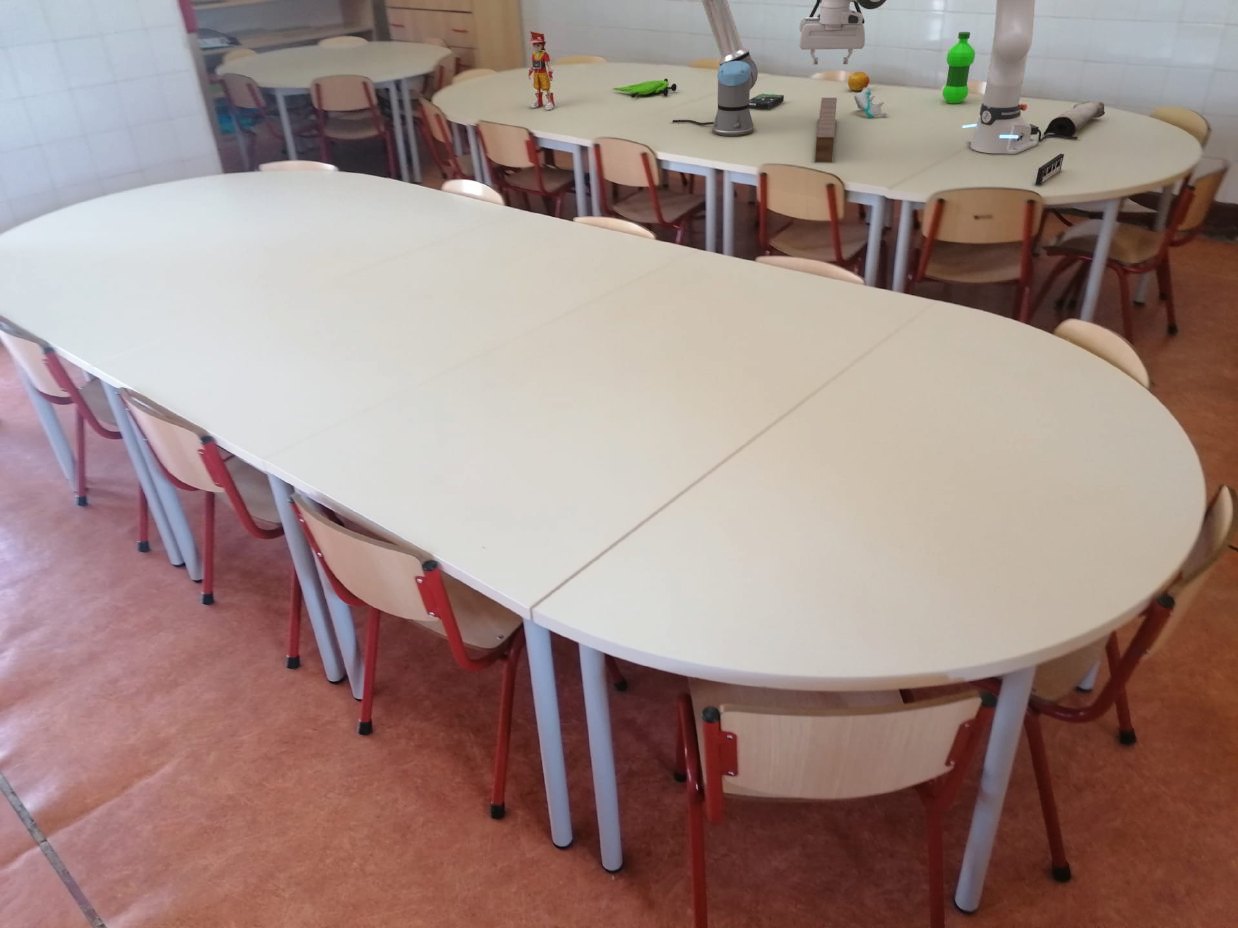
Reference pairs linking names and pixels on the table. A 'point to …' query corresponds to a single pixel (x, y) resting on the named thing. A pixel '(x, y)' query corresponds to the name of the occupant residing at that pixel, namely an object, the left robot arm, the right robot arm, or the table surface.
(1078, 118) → the rolled mat
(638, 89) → the toy
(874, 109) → the anatomical model
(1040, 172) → the midi keyboard
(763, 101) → the disk drive
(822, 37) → the right robot arm
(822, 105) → the post
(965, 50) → the plastic bottle
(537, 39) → the toy
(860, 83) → the fruit
